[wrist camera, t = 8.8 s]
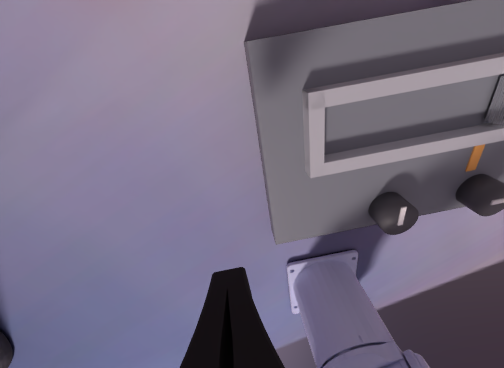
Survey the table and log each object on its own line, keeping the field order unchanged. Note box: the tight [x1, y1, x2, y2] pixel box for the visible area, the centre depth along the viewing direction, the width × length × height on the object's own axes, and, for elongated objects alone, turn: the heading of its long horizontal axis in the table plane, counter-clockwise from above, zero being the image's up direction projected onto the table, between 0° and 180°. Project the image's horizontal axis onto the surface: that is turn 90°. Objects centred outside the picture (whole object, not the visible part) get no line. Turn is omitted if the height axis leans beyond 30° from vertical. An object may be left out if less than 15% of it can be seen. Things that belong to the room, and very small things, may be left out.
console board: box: [244, 0, 504, 245], centre depth 17 cm, size 16×24×4 cm, turn 99°
